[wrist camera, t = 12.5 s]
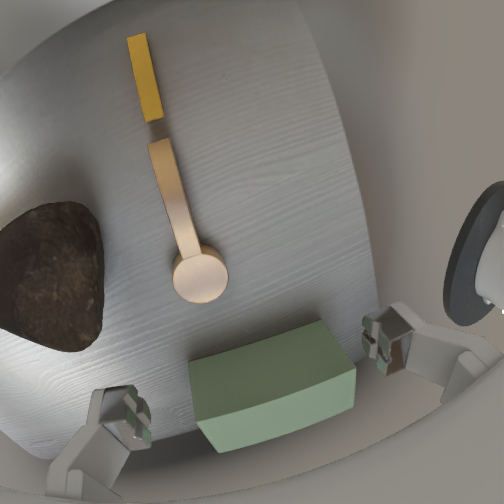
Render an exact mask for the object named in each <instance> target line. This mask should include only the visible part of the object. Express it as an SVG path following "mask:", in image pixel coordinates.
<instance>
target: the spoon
mask: <svg viewBox="0 0 504 504" xmlns="http://www.w3.org/2000/svg"><path fill="white" fill-rule="evenodd" d="M147 147H148V151H149V154H150V158H151V161H152V165H153V168H154V172H155V175H156V179H157V182H158V185H159V189H160V192H161V195H162V199H163V202H164V205H165V208H166V211H167V215H168V218H169V221H170V224H171V227H172V230H173V233H174V236H175V239H176V242H177V245H178V248H179V251H180V253H179V254H178V255H177V256H176V258H175V260H174V262H173V266H172V282H173V286H174V289H175V291H176V292H177V294H178V295H179V296H180V297H182V298H183V299H184V300H186V301H189V302H192V303H198V304H199V303H207V302H210V301H213V300H215V299H216V298H218V297H219V296H220V295H221V294H222V293H223V292H224V291H225V289H226V287H227V284H228V279H229V276H228V271H227V268H226V265H225V262H224V260H223V258H222V256H221V254H220V253H219V252H218V251H217V250H215V249H214V248H212V247H210V246H207V245H200V241H199V238H198V234H197V231H196V228H195V224H194V221H193V218H192V214H191V211H190V207H189V204H188V201H187V197H186V194H185V190H184V187H183V183H182V179H181V176H180V172H179V169H178V165H177V161H176V158H175V154H174V150H173V146H172V143H171V139H170V138H166V139H162V140H159V141H156V142H153V143H150V144H148V145H147Z"/></svg>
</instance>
